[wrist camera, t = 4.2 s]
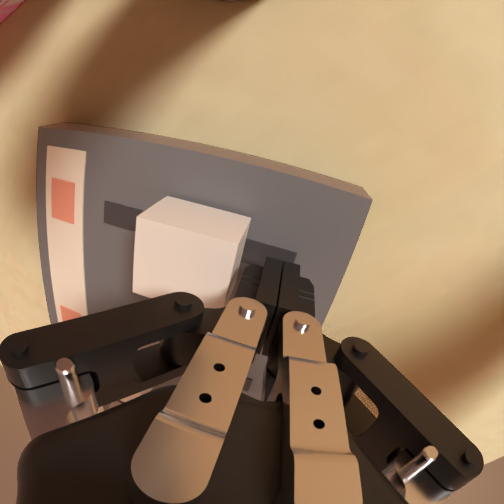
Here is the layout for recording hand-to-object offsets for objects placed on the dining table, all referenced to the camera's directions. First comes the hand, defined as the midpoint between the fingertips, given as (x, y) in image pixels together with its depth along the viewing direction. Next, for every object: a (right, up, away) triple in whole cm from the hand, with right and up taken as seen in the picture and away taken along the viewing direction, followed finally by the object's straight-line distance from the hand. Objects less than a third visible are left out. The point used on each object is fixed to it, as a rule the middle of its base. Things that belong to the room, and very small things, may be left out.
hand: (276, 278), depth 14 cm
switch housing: (-7, -4, +8) cm, 11 cm away
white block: (-3, +2, +1) cm, 4 cm away
